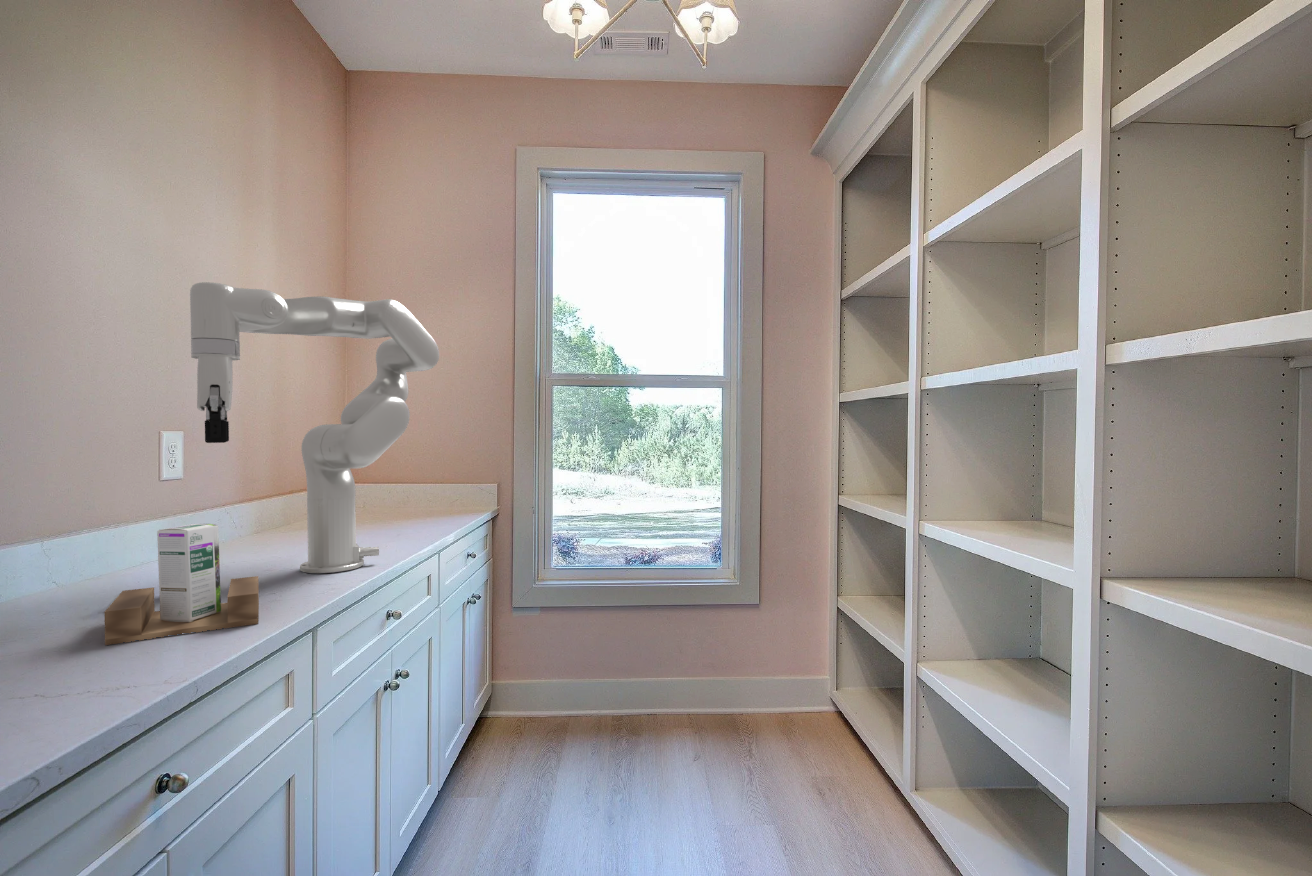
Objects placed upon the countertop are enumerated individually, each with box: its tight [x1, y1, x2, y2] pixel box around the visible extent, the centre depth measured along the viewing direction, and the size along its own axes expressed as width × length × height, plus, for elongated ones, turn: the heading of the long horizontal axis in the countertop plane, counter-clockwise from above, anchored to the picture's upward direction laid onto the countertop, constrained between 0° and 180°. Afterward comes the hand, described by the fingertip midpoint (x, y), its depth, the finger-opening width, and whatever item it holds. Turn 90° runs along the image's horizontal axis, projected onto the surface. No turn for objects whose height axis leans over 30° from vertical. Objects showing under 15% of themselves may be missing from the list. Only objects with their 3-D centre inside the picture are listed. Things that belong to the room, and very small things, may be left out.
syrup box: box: [156, 523, 222, 622], centre depth 101 cm, size 6×6×14 cm
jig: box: [103, 575, 260, 646], centre depth 101 cm, size 18×14×5 cm
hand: (217, 442), depth 119 cm, fingers open, 9 cm apart
